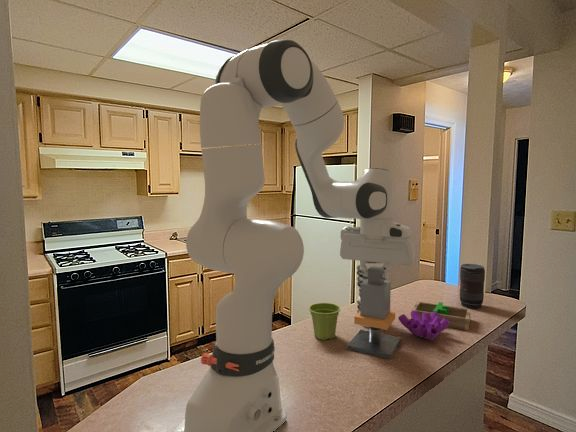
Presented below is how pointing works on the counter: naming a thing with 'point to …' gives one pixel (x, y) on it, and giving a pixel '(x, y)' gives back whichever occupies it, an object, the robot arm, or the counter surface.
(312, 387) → the counter surface
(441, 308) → the green branched piece
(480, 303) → the camera lens
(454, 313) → the open wooden box
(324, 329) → the plant pot
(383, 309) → the grey stepped block
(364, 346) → the pipe stand
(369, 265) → the decorative candle
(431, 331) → the purple tube coral
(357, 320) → the collar
